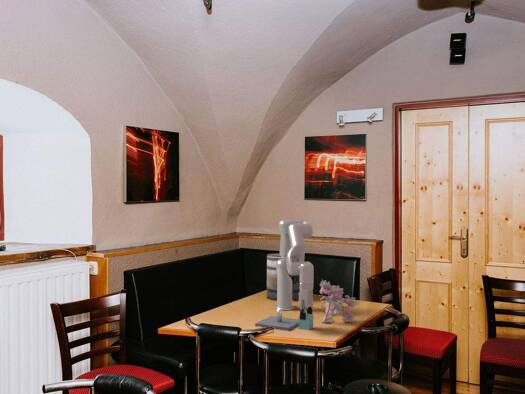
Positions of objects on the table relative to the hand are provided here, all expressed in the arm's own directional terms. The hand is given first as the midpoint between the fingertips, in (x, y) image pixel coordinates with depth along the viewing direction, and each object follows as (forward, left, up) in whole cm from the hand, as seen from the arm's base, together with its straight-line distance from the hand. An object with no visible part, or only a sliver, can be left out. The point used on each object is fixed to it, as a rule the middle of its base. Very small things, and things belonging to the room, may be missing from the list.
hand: (306, 317), depth 277 cm
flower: (-22, +12, -6) cm, 26 cm away
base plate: (0, -16, -6) cm, 17 cm away
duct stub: (0, -16, -4) cm, 17 cm away
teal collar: (0, 0, -6) cm, 6 cm away
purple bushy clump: (-40, 0, -6) cm, 41 cm away
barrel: (-68, -45, -6) cm, 82 cm away
